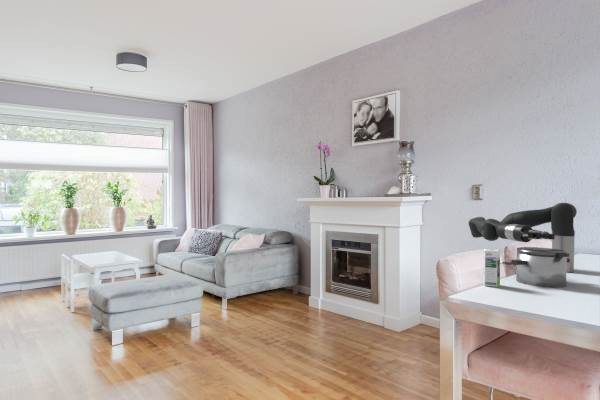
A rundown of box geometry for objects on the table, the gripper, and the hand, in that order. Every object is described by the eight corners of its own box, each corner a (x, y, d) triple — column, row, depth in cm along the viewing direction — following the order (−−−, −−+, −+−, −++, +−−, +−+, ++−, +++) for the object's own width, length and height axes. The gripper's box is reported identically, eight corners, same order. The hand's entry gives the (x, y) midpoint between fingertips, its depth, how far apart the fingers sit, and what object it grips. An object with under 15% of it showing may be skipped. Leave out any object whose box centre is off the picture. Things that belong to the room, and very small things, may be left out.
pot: (497, 279, 174) (497, 251, 174) (547, 276, 182) (548, 250, 182) (532, 289, 157) (532, 258, 157) (586, 285, 165) (586, 256, 165)
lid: (507, 250, 175) (507, 247, 175) (539, 249, 181) (539, 246, 181) (547, 257, 156) (547, 254, 156) (582, 256, 161) (582, 253, 161)
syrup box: (483, 286, 161) (484, 249, 161) (483, 283, 167) (483, 248, 167) (499, 287, 159) (500, 250, 159) (498, 284, 165) (499, 249, 164)
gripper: (530, 240, 183) (565, 245, 166) (506, 241, 179) (540, 246, 162) (530, 224, 182) (565, 227, 166) (506, 224, 179) (540, 227, 162)
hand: (553, 236), depth 164 cm, fingers closed
